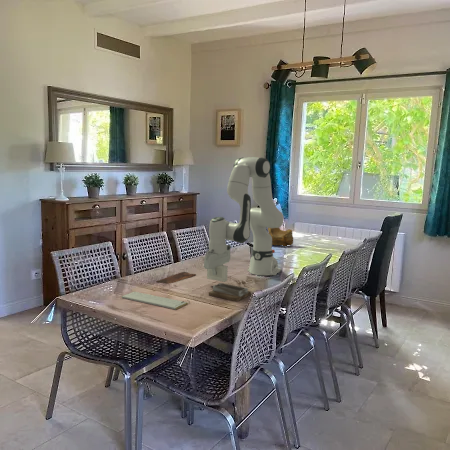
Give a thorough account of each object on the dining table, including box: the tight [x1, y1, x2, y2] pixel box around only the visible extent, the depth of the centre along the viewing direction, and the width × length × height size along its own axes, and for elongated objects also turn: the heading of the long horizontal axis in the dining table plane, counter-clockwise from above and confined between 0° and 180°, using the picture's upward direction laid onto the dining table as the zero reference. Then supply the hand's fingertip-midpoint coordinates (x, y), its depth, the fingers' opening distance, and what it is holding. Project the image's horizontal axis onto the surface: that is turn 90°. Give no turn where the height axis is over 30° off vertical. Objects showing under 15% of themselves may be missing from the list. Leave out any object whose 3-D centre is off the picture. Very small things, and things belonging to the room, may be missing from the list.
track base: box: [208, 282, 252, 302], centre depth 221 cm, size 14×16×4 cm
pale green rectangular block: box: [206, 264, 229, 283], centre depth 234 cm, size 3×11×8 cm, turn 57°
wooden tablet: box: [156, 271, 197, 285], centre depth 249 cm, size 26×2×10 cm
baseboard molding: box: [121, 291, 189, 311], centre depth 209 cm, size 31×3×12 cm
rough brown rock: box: [267, 227, 294, 246], centre depth 357 cm, size 23×17×15 cm
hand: (217, 273), depth 235 cm, fingers closed on pale green rectangular block, 3 cm apart
